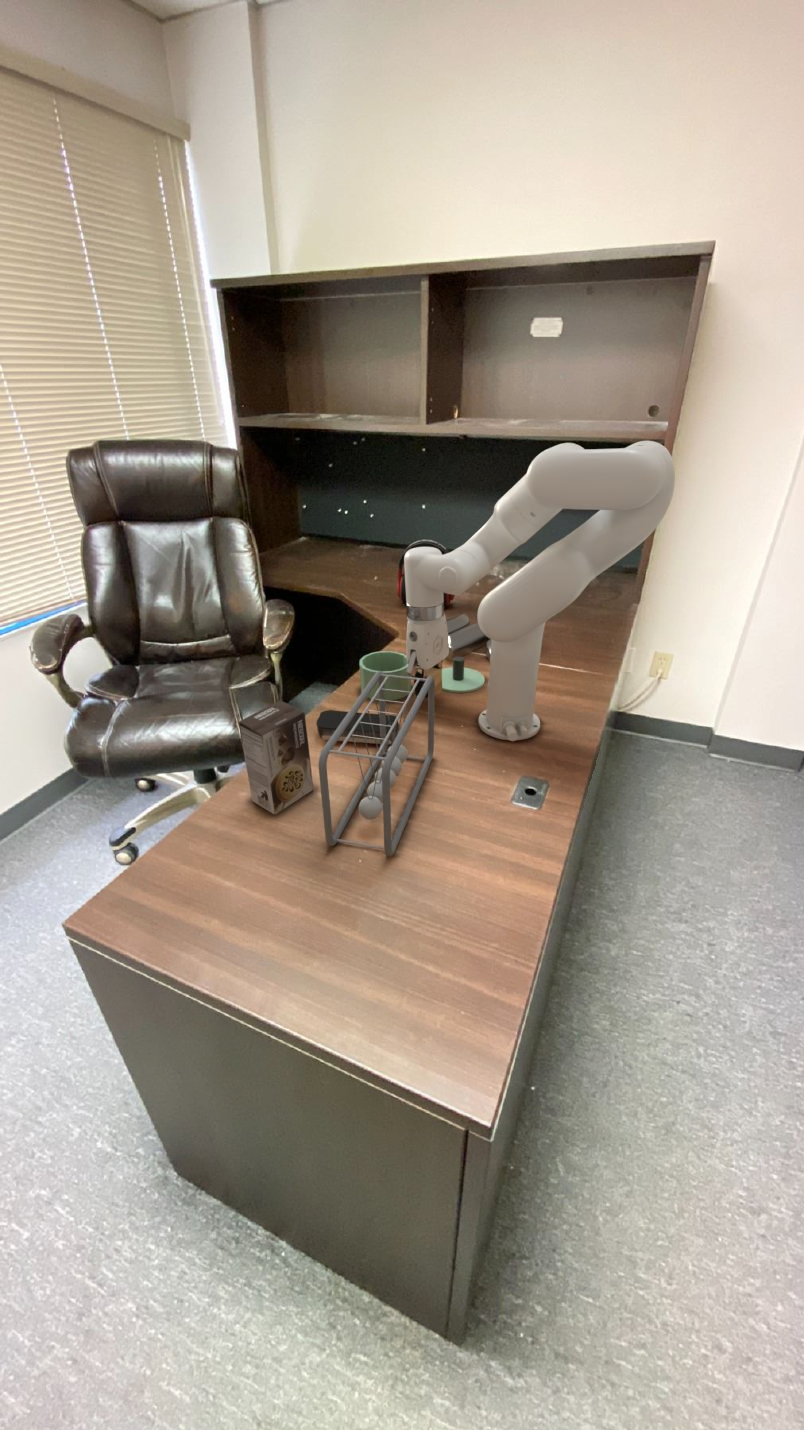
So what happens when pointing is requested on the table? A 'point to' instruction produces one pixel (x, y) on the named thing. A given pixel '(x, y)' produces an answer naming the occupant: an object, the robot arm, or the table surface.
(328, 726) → the black sponge
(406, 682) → the pot
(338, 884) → the table surface
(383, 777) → the newton's cradle
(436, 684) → the block
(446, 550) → the headphones
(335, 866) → the table surface
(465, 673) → the cover
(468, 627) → the emblem
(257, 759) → the coffee box
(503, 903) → the table surface
